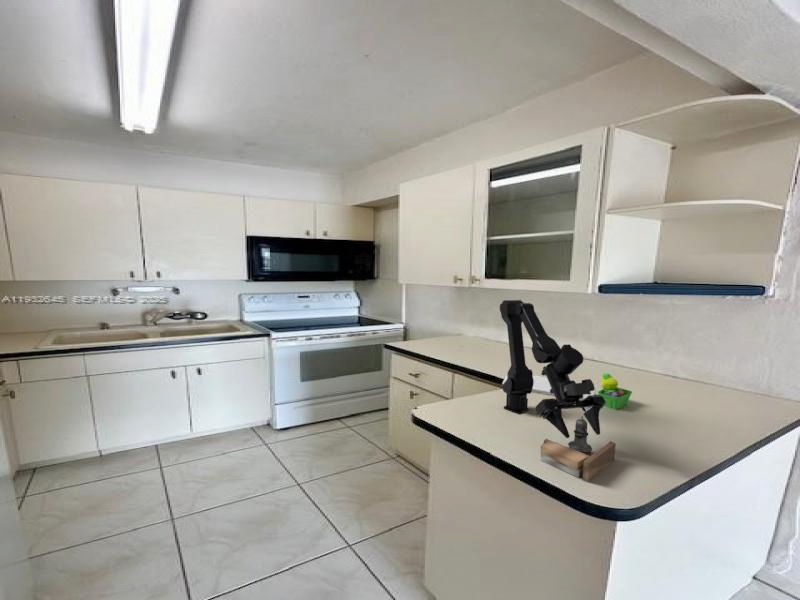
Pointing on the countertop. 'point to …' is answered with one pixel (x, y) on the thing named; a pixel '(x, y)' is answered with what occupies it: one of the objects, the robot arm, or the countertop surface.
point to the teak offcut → (563, 455)
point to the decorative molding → (547, 386)
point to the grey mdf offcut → (562, 466)
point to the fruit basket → (613, 392)
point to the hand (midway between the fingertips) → (583, 436)
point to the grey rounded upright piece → (580, 438)
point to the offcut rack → (595, 460)
